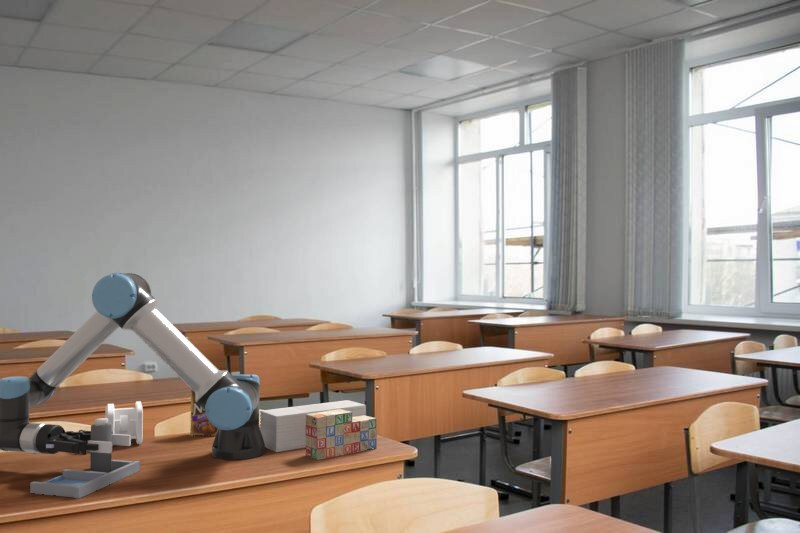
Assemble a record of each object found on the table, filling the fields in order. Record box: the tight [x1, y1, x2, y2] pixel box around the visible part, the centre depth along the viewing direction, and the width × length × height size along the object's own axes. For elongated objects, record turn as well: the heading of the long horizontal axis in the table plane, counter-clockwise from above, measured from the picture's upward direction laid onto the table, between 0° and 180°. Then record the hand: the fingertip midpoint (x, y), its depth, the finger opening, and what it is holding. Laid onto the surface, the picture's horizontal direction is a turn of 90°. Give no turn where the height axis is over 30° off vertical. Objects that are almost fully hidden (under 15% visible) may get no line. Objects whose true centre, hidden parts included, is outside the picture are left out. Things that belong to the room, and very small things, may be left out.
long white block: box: [259, 399, 367, 453], centre depth 223 cm, size 32×11×11 cm, turn 127°
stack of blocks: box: [305, 409, 378, 461], centre depth 209 cm, size 21×6×12 cm, turn 129°
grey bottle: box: [89, 417, 113, 473], centre depth 183 cm, size 5×5×14 cm
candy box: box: [189, 388, 218, 437], centre depth 230 cm, size 9×4×15 cm, turn 96°
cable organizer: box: [104, 400, 144, 447], centre depth 219 cm, size 15×11×12 cm
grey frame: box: [29, 459, 141, 499], centre depth 178 cm, size 14×24×2 cm, turn 167°
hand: (120, 443), depth 182 cm, fingers open, 7 cm apart
